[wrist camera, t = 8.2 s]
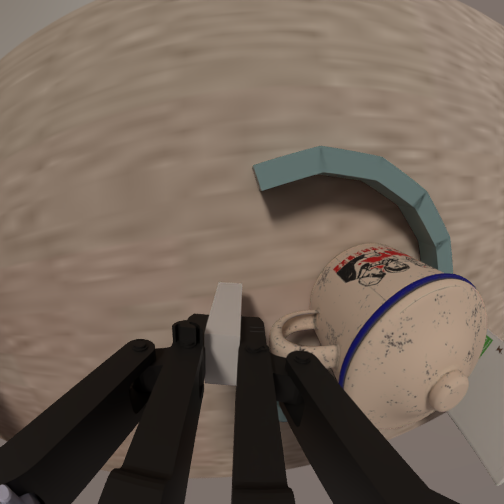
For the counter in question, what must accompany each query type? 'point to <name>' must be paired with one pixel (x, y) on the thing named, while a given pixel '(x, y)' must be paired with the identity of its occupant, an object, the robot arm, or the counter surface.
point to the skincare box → (485, 408)
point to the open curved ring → (379, 178)
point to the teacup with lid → (391, 333)
